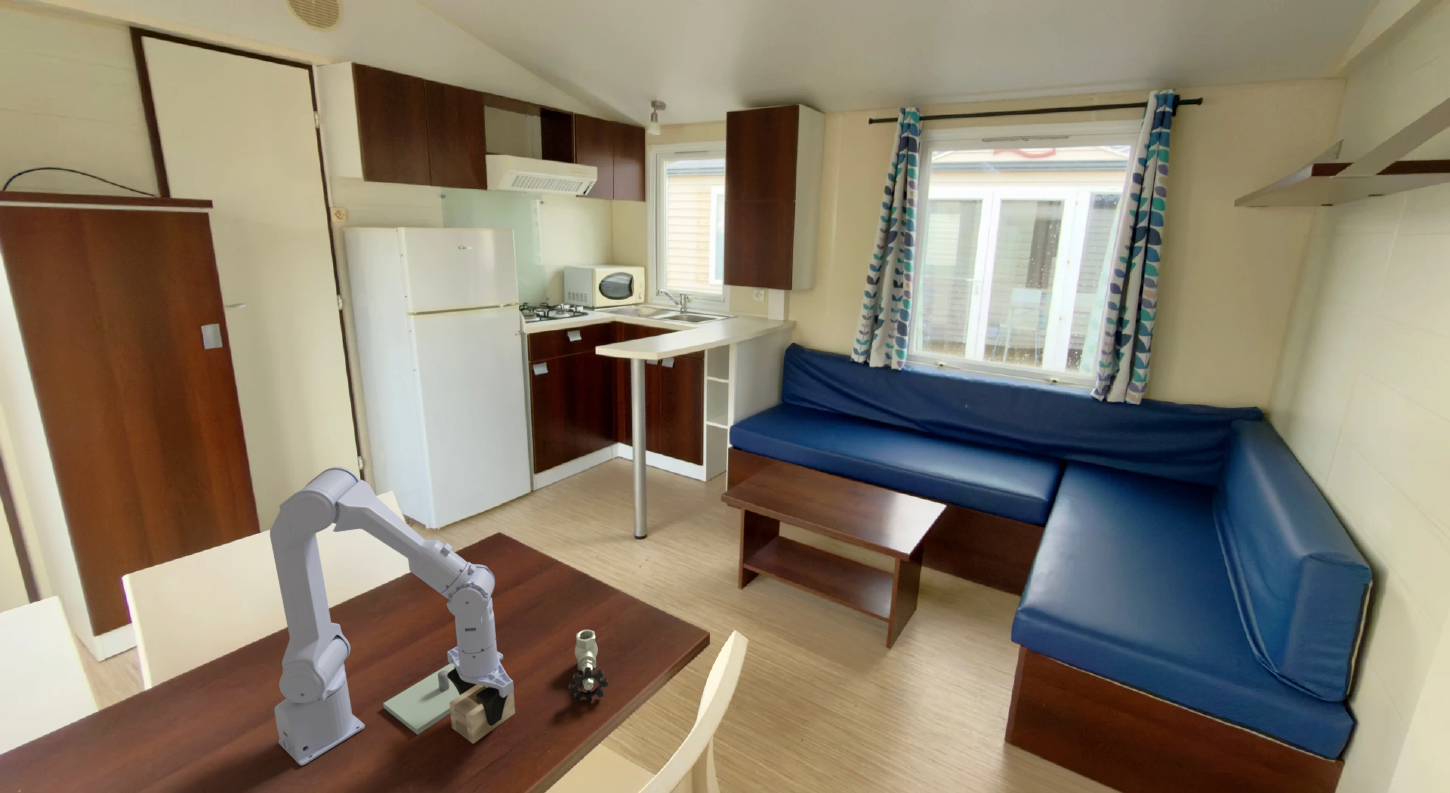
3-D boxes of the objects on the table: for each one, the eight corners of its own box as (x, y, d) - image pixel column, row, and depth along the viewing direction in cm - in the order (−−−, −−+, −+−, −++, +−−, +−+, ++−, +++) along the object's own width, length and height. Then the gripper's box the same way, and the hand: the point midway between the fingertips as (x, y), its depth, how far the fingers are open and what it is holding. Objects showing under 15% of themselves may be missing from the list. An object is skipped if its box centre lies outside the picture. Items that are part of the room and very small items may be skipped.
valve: (568, 661, 119) (569, 706, 108) (567, 630, 117) (568, 673, 106) (603, 655, 121) (608, 700, 109) (602, 625, 119) (607, 667, 108)
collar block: (473, 743, 99) (470, 717, 98) (452, 728, 102) (449, 702, 101) (515, 713, 106) (513, 688, 104) (494, 699, 109) (492, 674, 107)
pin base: (417, 734, 101) (414, 713, 100) (384, 708, 106) (381, 688, 105) (501, 678, 114) (500, 659, 113) (468, 657, 119) (466, 639, 118)
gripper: (527, 646, 99) (532, 717, 103) (471, 614, 107) (477, 681, 111) (488, 670, 94) (495, 745, 97) (432, 635, 102) (440, 705, 105)
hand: (483, 713), depth 104 cm, fingers closed on collar block, 6 cm apart
